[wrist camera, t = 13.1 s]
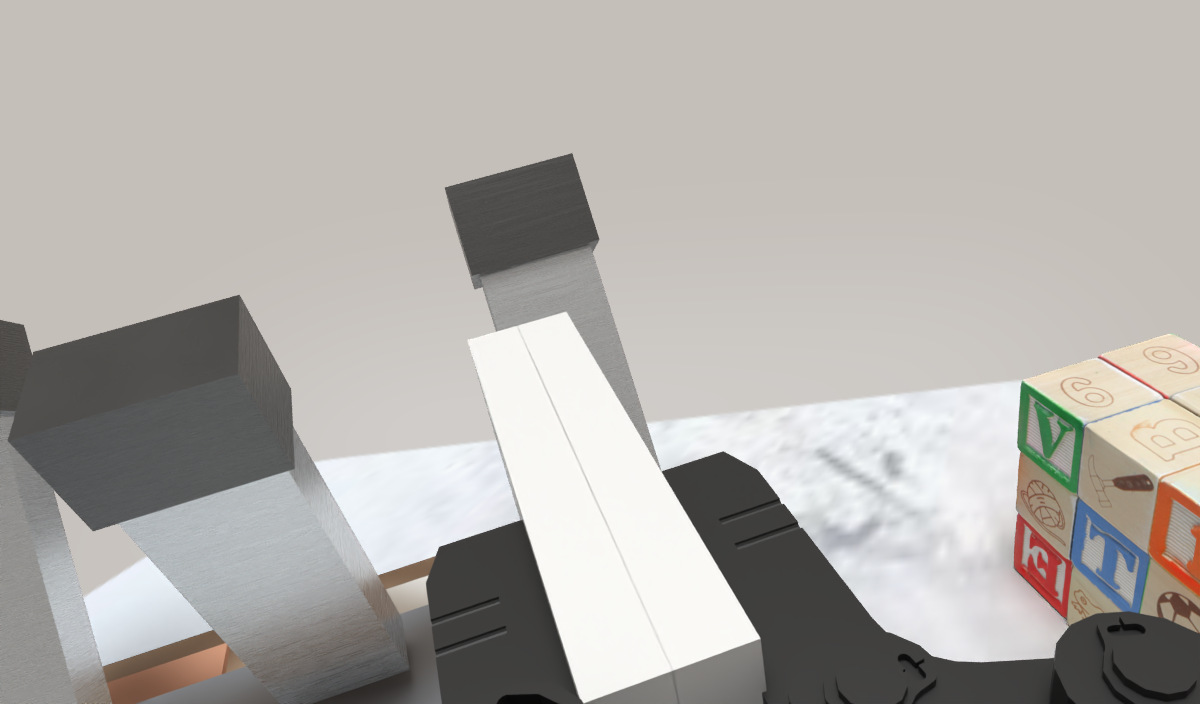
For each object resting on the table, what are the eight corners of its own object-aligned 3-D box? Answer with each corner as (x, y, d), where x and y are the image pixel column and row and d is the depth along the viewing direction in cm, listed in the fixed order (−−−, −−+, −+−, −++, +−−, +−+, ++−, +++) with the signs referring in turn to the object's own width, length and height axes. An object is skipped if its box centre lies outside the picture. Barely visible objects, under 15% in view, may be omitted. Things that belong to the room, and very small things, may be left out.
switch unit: (853, 765, 28) (845, 663, 25) (-105, 1142, 24) (-223, 1065, 21) (686, 489, 42) (671, 407, 39) (63, 697, 38) (4, 619, 35)
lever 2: (695, 543, 29) (572, 153, 29) (567, 587, 28) (444, 187, 29) (677, 533, 31) (566, 176, 32) (561, 573, 31) (449, 208, 31)
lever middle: (420, 677, 27) (238, 373, 17) (279, 727, 27) (7, 440, 17) (408, 604, 29) (239, 294, 19) (276, 649, 29) (33, 352, 19)
